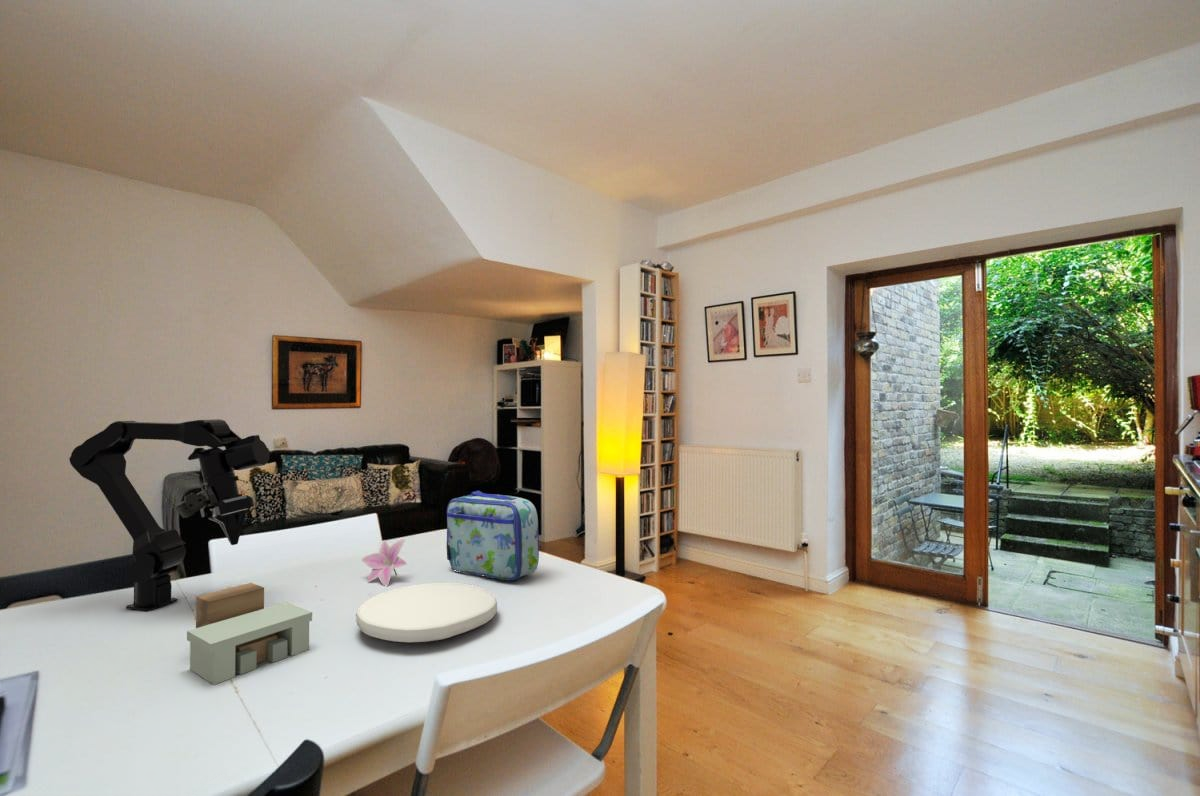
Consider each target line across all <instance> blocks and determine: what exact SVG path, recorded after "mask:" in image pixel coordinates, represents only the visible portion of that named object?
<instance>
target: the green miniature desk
mask: <svg viewBox="0 0 1200 796" xmlns="http://www.w3.org/2000/svg"><path fill="white" fill-rule="evenodd" d="M312 621H313V611H310V610H308V609H305V608H302V607H300V606H297V605H295V604H292V603H290V602H287V601H286V602H283V603H279V604H276V605H272V606H269V607H264V609H261V610H258V611H254V612H251V613H247V614H244V615H240V616H237V617H233V618H230V619H226V620H223V621H220V622H216V623H213V624H209V625H206V626H202V627H199V628H196V627H195V628H192V629H189V630H186V641H187V642H189V650H190V651H189V670H190V671H192V672H193V673H195V674H196V675H199V676H200V677H201V678H202V679H204V680H206V681H208V683H210V684H212V685H217V684H219V683H222V682H225V681H227V680H230V679H233V678H235V677H236V674H238V675H240V676H241V675H244V674H246V673H249V672H253V671H254V670H257V663H256V659H257V651H256V650H254V649H252V648H249V649H246V650H243V651H240V652H237V653H235V646H236V645H239V644H242V643H245V642H248V641H251V640H254V639H257V638H260V637H263V636H267V635H270V634H275V635H277V639H275V640H273V641H270V642H267V659H266V661H268V662H271V663H273V664H274V663H276V662H279V661H282V660H284V659H287V658H288V655H290V656H292V657H293V656H295V655H298V654H300V653H304V652H306V651H309V650H310V622H312Z"/></svg>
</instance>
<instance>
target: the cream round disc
mask: <svg viewBox="0 0 1200 796" xmlns="http://www.w3.org/2000/svg"><path fill="white" fill-rule="evenodd" d="M497 610H498V601H497V598H496V597H495V595H494V594H493V592H490V591H488V590H486V589H485V588H482V587H480V586H476V585H473V584H467V583H459V582H434V583H433V582H432V583H431V582H430V583H421V584H414V585H408V586H402V587H398V588H394V589H390V590H387V591H385V592H382V593H379V594H376V595H374V596H373V597H370V598H369V599H367V600H366V601H364V602H363V603H362V604H361V605H360V606H359V607H358V609H357V611H356V616H355V617H356V618H355V620H356V621H355V622H356V625H357V627H358V628H359V630H360V631H361V632H362V633H364V634H366V635H367V636H369V637H373V638H377V639H380V640H384V641H390V642H399V643H426V642H434V641H439V640H440V641H441V640H446V639H449V638H452V637H455V636H458V635H461V634H464V633H466V632H469V631H472V630H475V629H476V628H478V627H481V626H482V625H485V624H487V623H488V622H489V621H491V620H492V619H493V618H494V616H495V615H496V613H497Z"/></svg>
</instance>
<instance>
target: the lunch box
mask: <svg viewBox="0 0 1200 796" xmlns="http://www.w3.org/2000/svg"><path fill="white" fill-rule="evenodd" d="M539 533H540V532H539V519H538V512H537V509H536V507H535V505H534V504H533V502H532V501H530V500H529V499H526V498H523V497H519V496H512V495H503V494H491V493H484V492H482V491H480V490H476V491H472V492H471V494H468V495H463V496H460V497H455V498H452V499H451V500H450V501H449V502H448V505H447V508H446V557H447V558H446V560H447V561H448V562H449V566H450V568H451V569H452V571H453V570H456V571H460V572H465V573H464V574H468V573H469V575H474V574H475V576H479V575H484V576H488V577H487V578H490V577H493V578H492V579H495V578H498V579H497V580H501V581H508V582H509V581H510V582H515V581H516V580H518V579H519V578H521V577H525V576H527V575H530V574H533V573H534V572H536V570H537V569H538V566H539V560H540V559H539V557H540V555H539V554H540V546H539V545H540V536H539ZM484 576H483V577H484Z"/></svg>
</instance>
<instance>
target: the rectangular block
mask: <svg viewBox="0 0 1200 796" xmlns="http://www.w3.org/2000/svg"><path fill="white" fill-rule="evenodd" d="M195 598H196V599H195V628H199V627H202V626H206V625H209V624H213V623H216V622H220V621H223V620H226V619H230V618H233V617H237V616H240V615H244V614H247V613H251V612H254V611H258V610H261V609H265V587H264V586H261V585H258V584H256V583H253V582H248V583H246V584H244V583H243V584H241V585H236V586H233V587H228V588H224V589H220V590H216V591H211V592H209V593H204V594H200V595H197V596H196V595H195ZM275 639H277V635H275V634H270V635H267V636H263V637H260V638H257V639H254V640H251V641H248V642H245V643H242V644H239V645H236V646H235V653H237V652H240V651H243V650H246V649H249V648H252V649H254V650H256V651H257V659H256V664H257V663H261V662H263V661H267V642H270V641H273V640H275Z"/></svg>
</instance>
